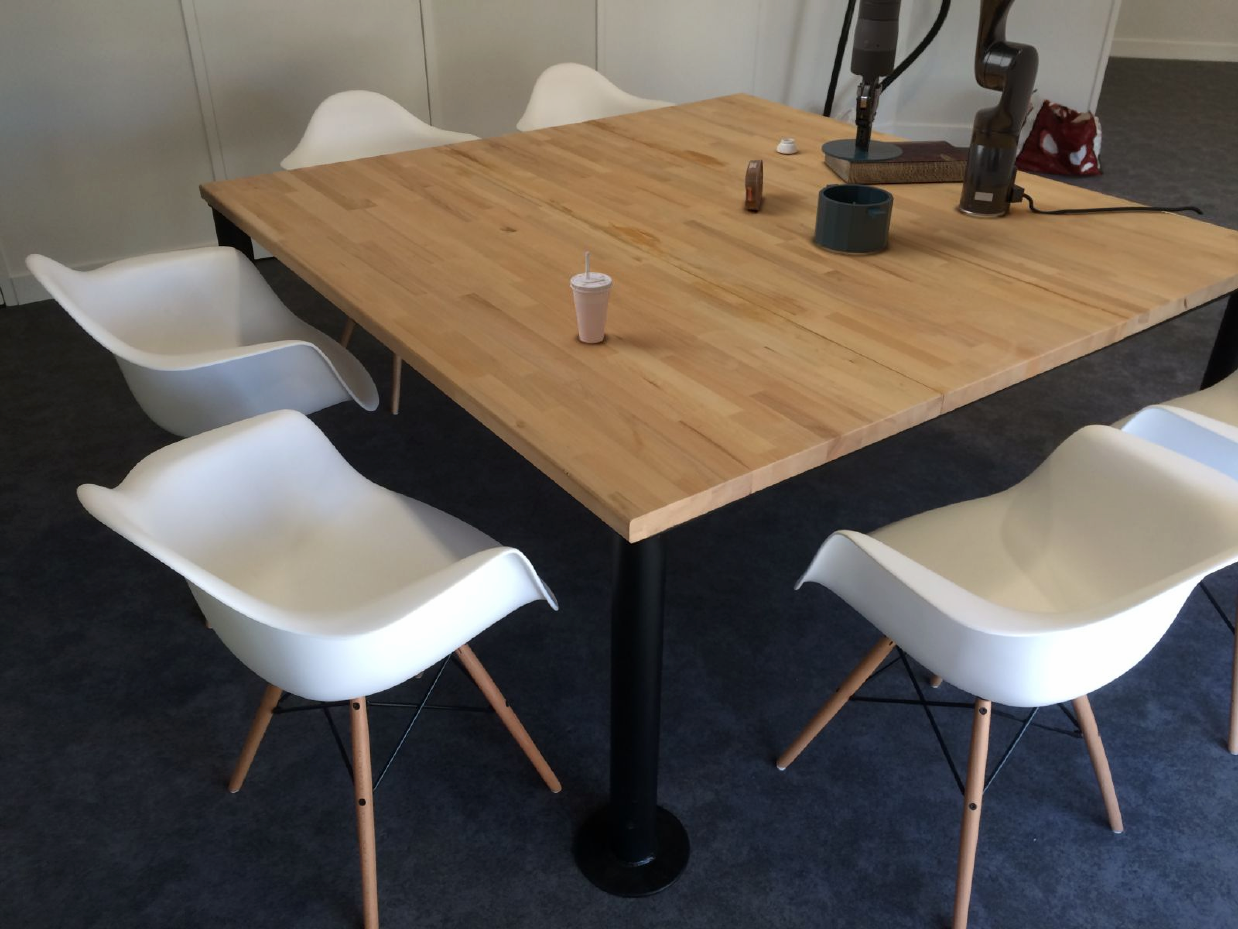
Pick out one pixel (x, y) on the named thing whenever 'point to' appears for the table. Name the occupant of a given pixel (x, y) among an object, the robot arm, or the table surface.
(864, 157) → the lid
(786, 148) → the lidless jar
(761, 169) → the tin
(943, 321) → the table surface
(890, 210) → the pot
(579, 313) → the smoothie
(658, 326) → the table surface
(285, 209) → the table surface
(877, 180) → the hardback book
